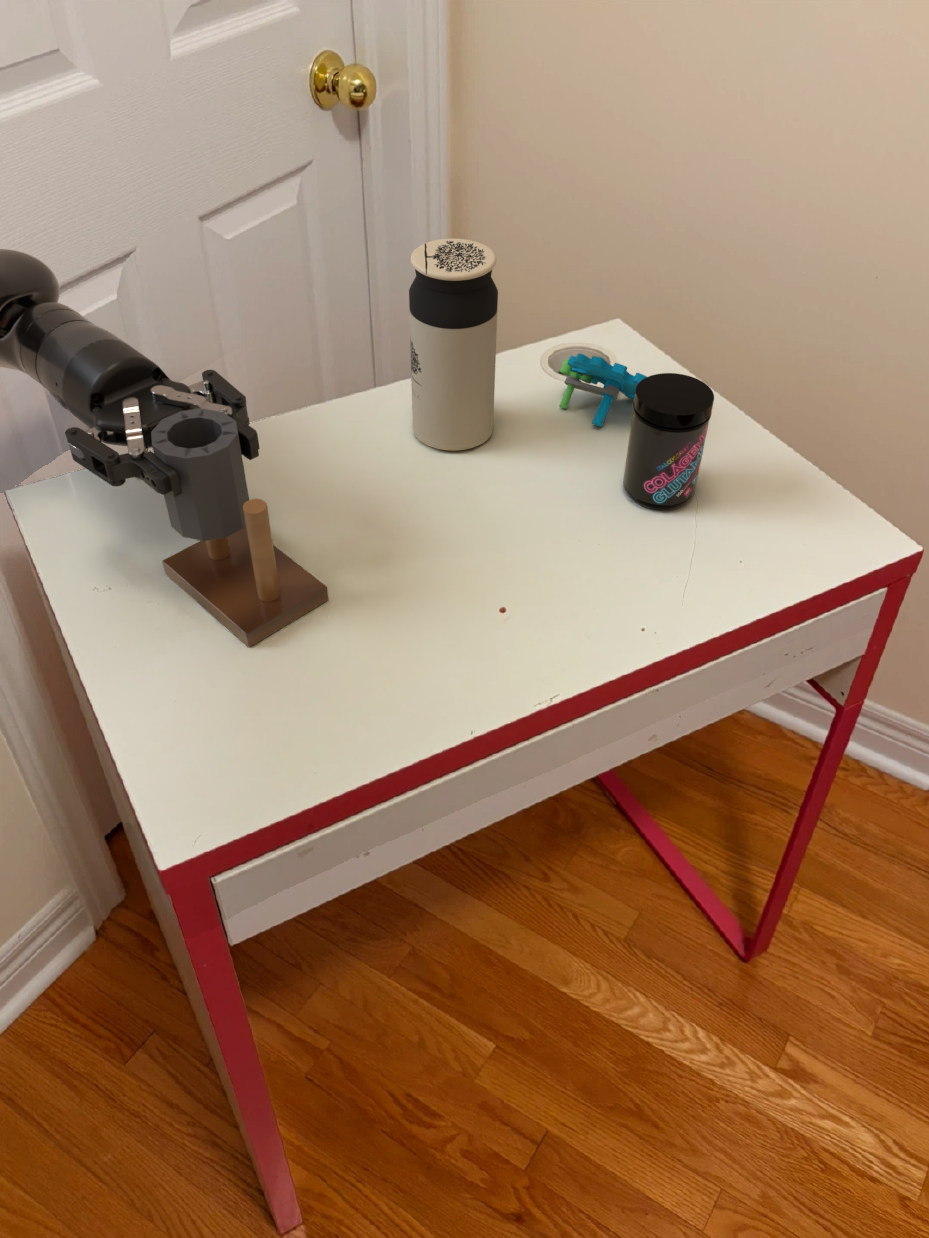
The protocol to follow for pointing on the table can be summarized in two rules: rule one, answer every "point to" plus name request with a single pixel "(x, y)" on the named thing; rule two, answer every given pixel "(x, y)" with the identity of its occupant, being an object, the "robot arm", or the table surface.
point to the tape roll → (203, 473)
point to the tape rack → (247, 579)
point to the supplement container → (667, 440)
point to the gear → (598, 372)
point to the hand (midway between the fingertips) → (216, 466)
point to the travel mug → (453, 343)
